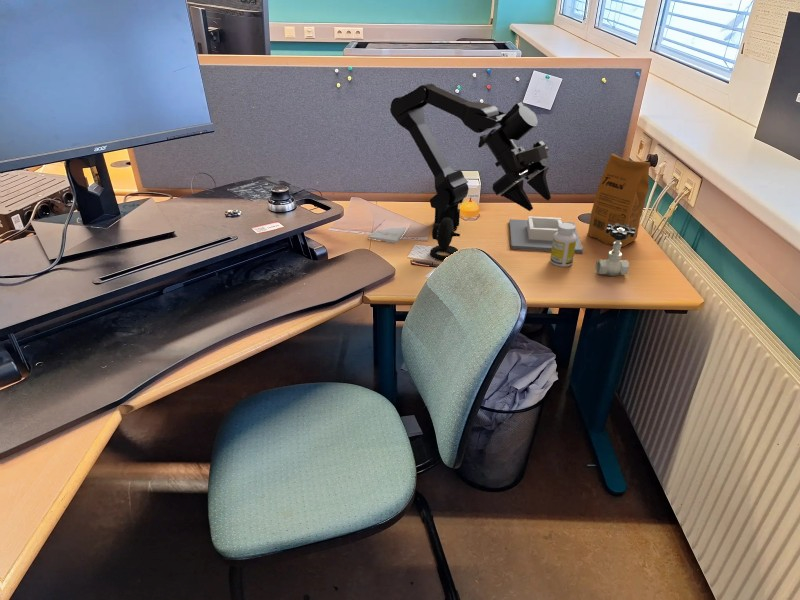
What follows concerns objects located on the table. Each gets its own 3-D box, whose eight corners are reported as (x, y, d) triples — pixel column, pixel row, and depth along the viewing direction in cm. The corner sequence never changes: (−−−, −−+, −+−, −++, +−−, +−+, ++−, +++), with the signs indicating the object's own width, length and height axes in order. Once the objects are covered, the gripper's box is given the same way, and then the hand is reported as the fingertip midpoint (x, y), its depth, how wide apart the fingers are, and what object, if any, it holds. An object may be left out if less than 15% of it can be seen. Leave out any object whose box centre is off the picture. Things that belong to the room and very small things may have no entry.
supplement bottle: (570, 258, 138) (576, 221, 133) (574, 267, 133) (580, 230, 128) (548, 257, 138) (554, 221, 133) (551, 266, 134) (557, 229, 129)
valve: (592, 268, 133) (602, 222, 127) (620, 268, 133) (630, 222, 127) (600, 281, 128) (610, 234, 122) (629, 281, 127) (640, 234, 121)
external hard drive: (410, 228, 156) (397, 245, 146) (383, 224, 158) (368, 241, 148) (411, 222, 155) (396, 240, 145) (383, 219, 157) (368, 236, 147)
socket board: (511, 249, 142) (512, 234, 140) (509, 222, 158) (510, 209, 156) (582, 253, 140) (585, 238, 138) (573, 225, 156) (575, 212, 154)
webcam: (435, 246, 144) (436, 211, 139) (462, 251, 141) (465, 215, 136) (425, 259, 138) (426, 222, 132) (454, 264, 135) (456, 226, 130)
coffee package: (601, 226, 155) (617, 148, 144) (641, 240, 147) (661, 159, 136) (580, 235, 150) (594, 155, 139) (620, 250, 142) (639, 167, 130)
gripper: (508, 139, 122) (547, 197, 121) (547, 124, 134) (583, 177, 133) (476, 167, 130) (512, 222, 130) (516, 150, 142) (549, 200, 142)
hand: (540, 204), depth 133 cm, fingers open, 9 cm apart
